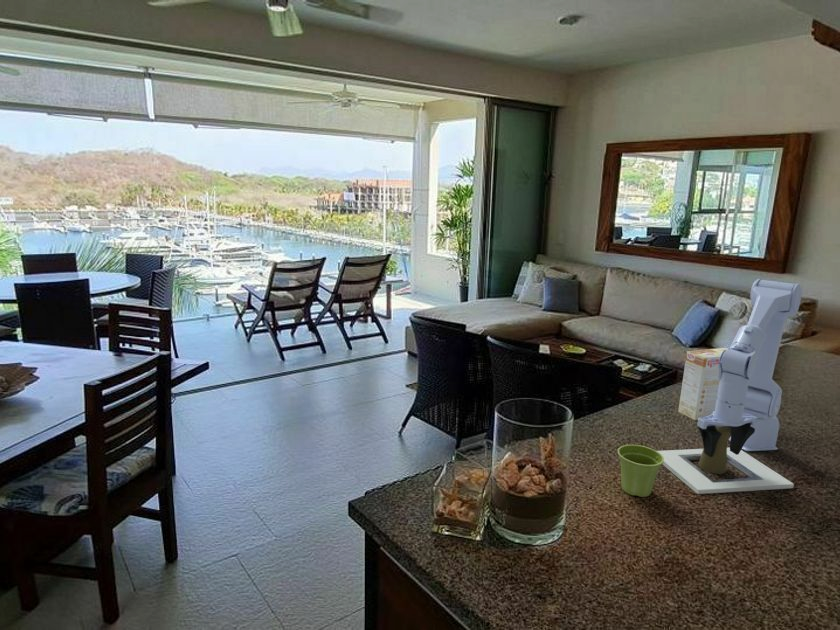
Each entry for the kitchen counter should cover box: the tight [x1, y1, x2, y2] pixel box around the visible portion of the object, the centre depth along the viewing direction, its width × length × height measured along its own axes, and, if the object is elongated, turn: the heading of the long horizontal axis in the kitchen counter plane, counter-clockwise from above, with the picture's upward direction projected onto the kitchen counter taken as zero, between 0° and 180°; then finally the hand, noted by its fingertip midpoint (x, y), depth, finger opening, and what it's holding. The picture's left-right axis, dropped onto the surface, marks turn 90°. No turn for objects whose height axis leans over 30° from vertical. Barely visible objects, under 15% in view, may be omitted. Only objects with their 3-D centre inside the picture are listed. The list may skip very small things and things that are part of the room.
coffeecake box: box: [677, 347, 729, 421], centre depth 161 cm, size 15×7×20 cm, turn 108°
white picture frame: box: [656, 446, 795, 495], centre depth 129 cm, size 24×18×1 cm
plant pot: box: [617, 444, 664, 498], centre depth 118 cm, size 9×9×9 cm
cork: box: [698, 426, 731, 475], centre depth 129 cm, size 6×6×11 cm
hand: (721, 453), depth 128 cm, fingers open, 7 cm apart
